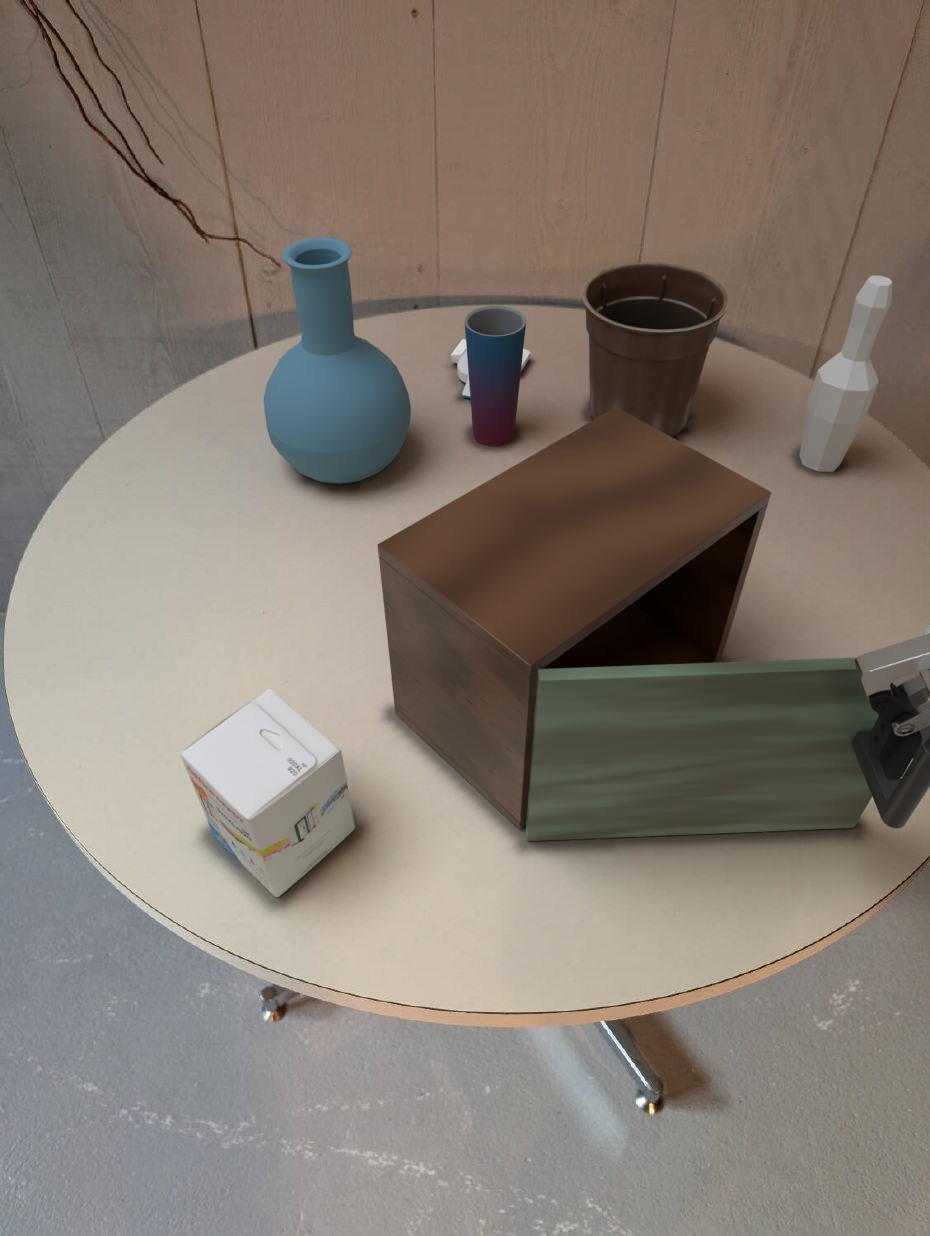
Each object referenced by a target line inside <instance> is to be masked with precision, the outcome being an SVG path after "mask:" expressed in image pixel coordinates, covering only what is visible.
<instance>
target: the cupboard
mask: <svg viewBox="0 0 930 1236" xmlns="http://www.w3.org/2000/svg"><path fill="white" fill-rule="evenodd" d="M771 495H772V491H770V490H769V489H767V488H765V487H763V486H762V485H759V484H758V483H756V482H754V481H752V480H751V479H749V478H746V477H745V476H743V475H742V474H739V473H738V472H736V471H734V470H732V469H730V468H729V467H726V466H725V465H723V464H721V463H719V462H717V461H716V460H715V459H712V458H710V457H709V456H706V455H705V454H703V453H702V452H699V450H696V449H694V448H692V447H690V446H688V445H687V444H685V443H684V442H682V441H680V440H678V439H676V438H674V437H670V436H669V435H667V434H665V433H663V432H661V431H659V430H658V429H656V428H654V427H652V426H650V425H649V424H647V423H645V422H643V421H641V420H639V419H638V418H636V417H634V416H632V415H630V414H629V413H627V412H625V411H623V410H621V409H619V408H618V407H615V408H614V409H612V410H610V411H608V412H607V413H605V414H603V415H602V416H600V417H598V418H596V419H595V420H593V419H592V421H589V422H587V423H586V424H584V425H583V426H581V427H579V428H576V429H575V430H574V431H571V433H568V434H567V435H565V436H563V437H562V438H560V439H558V440H556V441H555V442H552V443H551V444H550V445H548V446H546V447H544V448H542V449H541V450H539V451H537V452H536V453H534V454H532V455H530V456H528V457H526V458H524V459H523V460H522V461H520V462H518V463H516V464H515V465H513V466H510V468H508V469H506V470H504V471H503V472H500V473H499V474H497V475H495V476H494V477H492V478H490V479H489V480H487V481H485V482H483V483H482V484H480V485H478V486H476V487H474V488H472V489H471V490H469V491H467V492H465V493H464V494H463V495H461V496H459V497H457V498H456V499H454V500H452V501H450V502H449V503H447V504H445V505H443V506H442V507H440V508H438V509H437V510H435V511H433V512H431V513H430V514H428V515H426V516H424V517H423V518H420V519H419V520H418V521H417V520H416V522H414V523H412V524H410V525H409V526H406V527H405V528H403V529H402V530H400V531H398V532H396V533H395V534H393V535H391V536H390V537H388V538H386V539H385V540H382V541H381V542H379V543H378V544H377V553H378V563H379V572H380V580H381V593H382V600H383V601H382V602H383V609H384V610H383V611H384V619H385V629H386V630H385V631H386V636H387V638H386V639H387V649H388V657H389V666H390V675H391V684H392V685H391V686H392V695H393V705H394V714H395V715H396V716H397V717H398V718H399V719H400V720H401V721H402V722H404V723H405V725H406V726H408V727H409V728H410V729H411V731H413V732H414V733H415V734H416V735H418V736H419V738H420V739H422V741H424V742H425V743H426V744H427V745H428V746H429V747H430V748H431V749H432V750H433V751H434V752H436V754H437V755H439V756H440V757H441V759H443V760H444V761H445V762H446V763H447V764H448V765H449V766H451V767H452V769H454V770H455V771H456V773H458V774H459V775H460V776H461V777H462V778H463V779H464V780H465V781H466V782H467V783H469V784H470V785H471V786H472V787H473V788H474V790H476V791H477V792H478V793H479V794H480V795H481V796H482V797H483V798H484V799H486V801H488V802H489V803H490V805H492V806H493V807H494V808H495V809H496V810H497V811H498V812H500V814H502V816H504V817H505V818H506V819H507V820H508V821H509V822H510V823H511V824H513V826H514V827H516V828H517V830H519V831H520V830H523V828H524V827H526V820H527V807H528V794H529V781H530V768H531V755H532V742H533V729H534V716H535V702H536V689H537V676H538V669H557V668H584V667H611V666H638V665H665V664H693V663H720V662H722V659H723V655H724V653H725V649H726V645H727V642H728V639H729V636H730V632H731V629H732V625H733V623H734V619H735V616H736V612H737V610H738V605H739V603H740V599H741V595H742V593H743V589H744V585H745V583H746V578H747V576H748V572H749V569H750V566H751V562H752V558H753V557H754V556H753V555H754V552H755V549H756V545H757V543H758V540H759V539H758V538H759V535H760V533H761V529H762V525H763V522H764V518H765V516H766V513H767V509H768V507H769V506H768V505H769V502H770V498H771Z"/></svg>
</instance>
